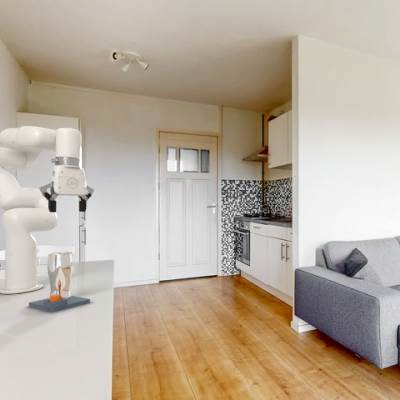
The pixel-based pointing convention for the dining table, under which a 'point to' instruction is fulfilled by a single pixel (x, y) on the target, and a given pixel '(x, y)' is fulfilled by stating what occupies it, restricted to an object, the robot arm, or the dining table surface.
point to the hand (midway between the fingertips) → (68, 211)
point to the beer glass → (60, 273)
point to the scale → (59, 304)
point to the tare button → (55, 298)
